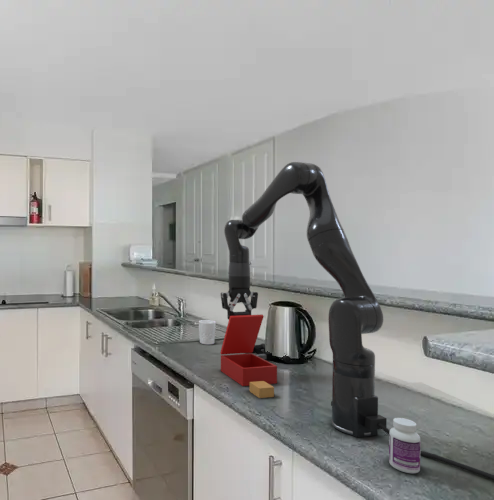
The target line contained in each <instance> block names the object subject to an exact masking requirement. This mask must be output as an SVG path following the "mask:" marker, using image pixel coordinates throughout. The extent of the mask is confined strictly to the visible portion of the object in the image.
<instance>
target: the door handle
mask: <svg viewBox="0 0 494 500" xmlns="http://www.w3.org/2000/svg"><path fill="white" fill-rule="evenodd" d="M265 344H266V343H260V344H255V346H254V349H253V352H252V353H254V354H255V355H256V356H258V357H260V358H262V359H264V360H266V361H268V362H270V361H277V360H279V361H281V362H283V363H290V362H291V361H292V357H291V356H290V355H288V356H286V355H287V354H286V355H285V356H283V357H282V359H283V360H281V359H279V358H272V353H270V352H268V351H267V352H265Z"/></svg>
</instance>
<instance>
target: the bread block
mask: <svg viewBox="0 0 494 500" xmlns="http://www.w3.org/2000/svg"><path fill="white" fill-rule="evenodd" d="M249 392H250V393H251V394H253V395H254V396H256V397H257V398H258V399H265V398H266V399H267V398H274V397H275V387H274V386H273V385H272V384H268V383H266V382H265V381H256V382H250V386H249Z"/></svg>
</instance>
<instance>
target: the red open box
mask: <svg viewBox="0 0 494 500" xmlns="http://www.w3.org/2000/svg"><path fill="white" fill-rule="evenodd" d="M256 355H257V354H255V353H253V352H252V353H238V354H223V355H221V354H220V372H221V373H223V374H224V375H226V376H227V377H229V378H230V379H231V380H233V381H234V382H236V383H238V384H239V385H240V386H242V387H250V382H256V381H265V382H266V383H268V384H270V385H273V384H277V383H278V366H277V365H276V364H274V363H271V362H270V361H267V360H265V359H262V358H260V357H258V356H256Z"/></svg>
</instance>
